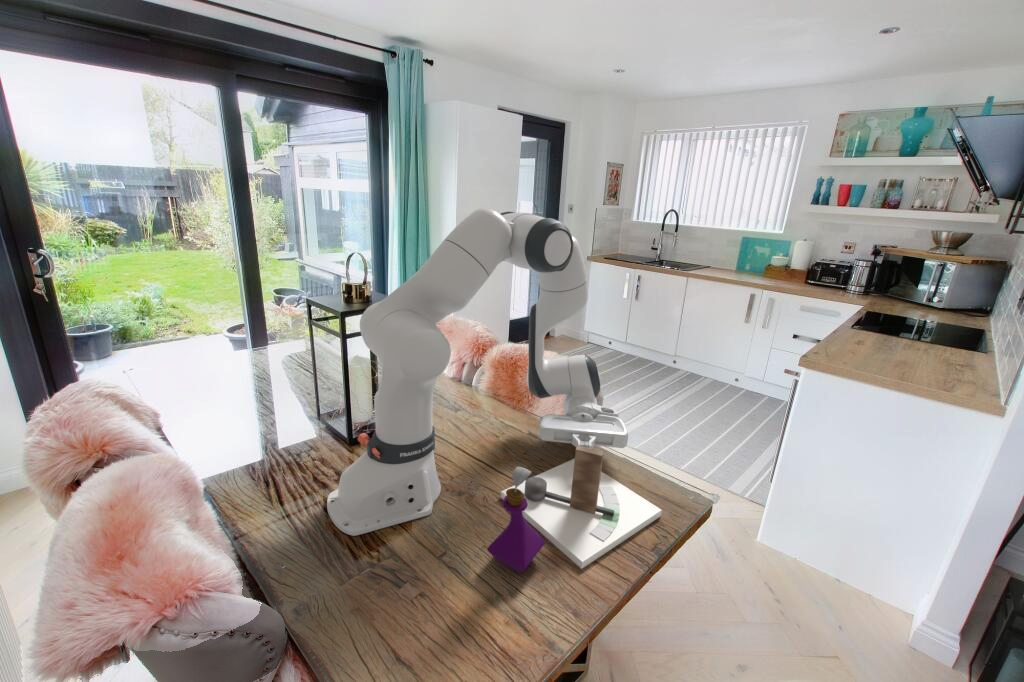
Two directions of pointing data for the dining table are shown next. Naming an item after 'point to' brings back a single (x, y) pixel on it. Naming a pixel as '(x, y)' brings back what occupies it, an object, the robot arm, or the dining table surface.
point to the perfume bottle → (516, 530)
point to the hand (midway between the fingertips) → (584, 449)
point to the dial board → (586, 516)
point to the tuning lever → (575, 483)
